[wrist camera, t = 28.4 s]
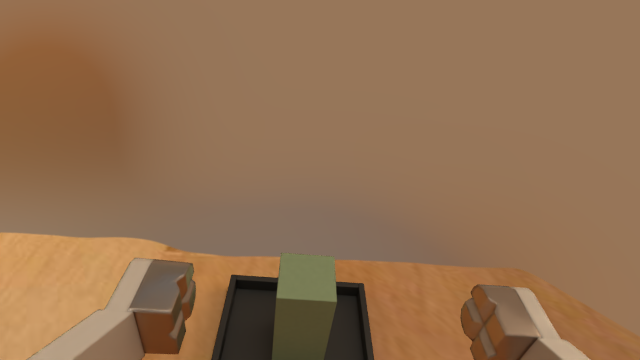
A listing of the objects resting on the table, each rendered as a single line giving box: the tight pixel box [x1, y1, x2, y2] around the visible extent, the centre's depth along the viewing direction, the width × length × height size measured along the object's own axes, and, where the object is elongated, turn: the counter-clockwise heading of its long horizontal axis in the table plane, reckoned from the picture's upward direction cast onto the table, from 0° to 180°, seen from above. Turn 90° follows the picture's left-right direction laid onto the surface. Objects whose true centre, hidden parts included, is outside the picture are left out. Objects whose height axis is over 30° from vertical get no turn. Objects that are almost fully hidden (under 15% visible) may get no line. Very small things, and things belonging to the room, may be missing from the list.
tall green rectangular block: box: [272, 253, 337, 360], centre depth 31 cm, size 4×4×10 cm
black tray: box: [211, 275, 374, 360], centre depth 34 cm, size 14×13×2 cm
